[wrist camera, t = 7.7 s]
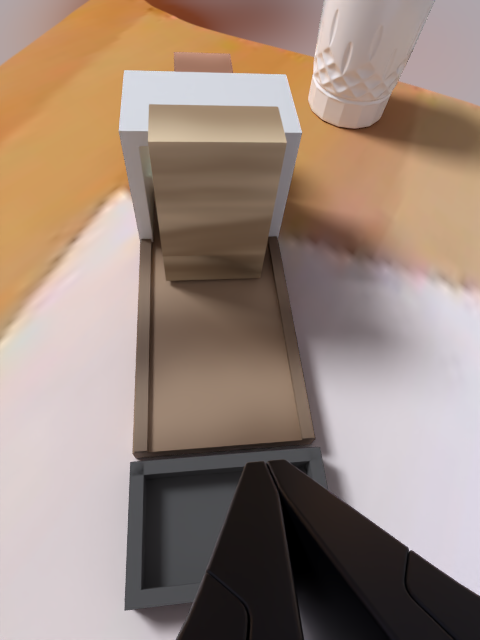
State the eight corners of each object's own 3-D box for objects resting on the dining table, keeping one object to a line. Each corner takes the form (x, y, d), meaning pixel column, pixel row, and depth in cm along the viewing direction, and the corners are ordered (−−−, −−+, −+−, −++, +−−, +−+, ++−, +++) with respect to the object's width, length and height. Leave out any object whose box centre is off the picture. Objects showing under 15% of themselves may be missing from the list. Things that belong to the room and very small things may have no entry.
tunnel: (277, 239, 27) (302, 132, 20) (140, 242, 26) (118, 130, 19) (267, 184, 29) (286, 74, 23) (142, 185, 28) (124, 70, 22)
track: (310, 444, 21) (316, 437, 20) (135, 458, 20) (131, 451, 19) (256, 145, 33) (258, 130, 32) (146, 144, 32) (144, 129, 31)
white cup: (354, 146, 34) (404, 6, 26) (283, 102, 37) (308, -39, 28) (404, 110, 37) (463, -24, 29) (336, 73, 40) (372, -61, 31)
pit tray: (335, 582, 18) (346, 583, 17) (130, 607, 17) (124, 610, 16) (312, 454, 21) (319, 446, 19) (135, 468, 20) (130, 461, 18)
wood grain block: (260, 277, 25) (287, 142, 17) (165, 280, 24) (147, 141, 16) (237, 128, 32) (249, -14, 24) (165, 128, 31) (152, -19, 24)
